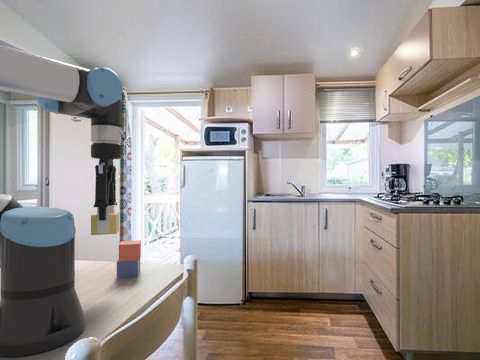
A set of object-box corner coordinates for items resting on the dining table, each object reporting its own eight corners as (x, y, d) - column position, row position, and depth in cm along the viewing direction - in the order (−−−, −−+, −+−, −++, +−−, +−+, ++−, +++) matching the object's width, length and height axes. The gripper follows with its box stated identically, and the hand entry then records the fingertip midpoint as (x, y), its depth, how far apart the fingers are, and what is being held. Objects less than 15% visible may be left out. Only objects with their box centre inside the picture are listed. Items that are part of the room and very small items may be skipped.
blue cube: (137, 277, 95) (137, 260, 95) (116, 278, 94) (116, 261, 94) (140, 272, 101) (140, 256, 101) (120, 273, 100) (120, 257, 100)
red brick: (139, 260, 96) (139, 243, 96) (118, 261, 94) (118, 244, 94) (140, 255, 102) (140, 240, 102) (121, 257, 100) (121, 241, 100)
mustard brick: (116, 234, 82) (116, 214, 82) (90, 235, 80) (90, 215, 80) (119, 230, 88) (119, 212, 88) (95, 231, 86) (95, 213, 86)
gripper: (114, 139, 76) (114, 236, 75) (126, 148, 94) (126, 226, 94) (80, 138, 74) (79, 237, 74) (99, 147, 93) (99, 226, 93)
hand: (106, 230), depth 84 cm, fingers closed on mustard brick, 6 cm apart
